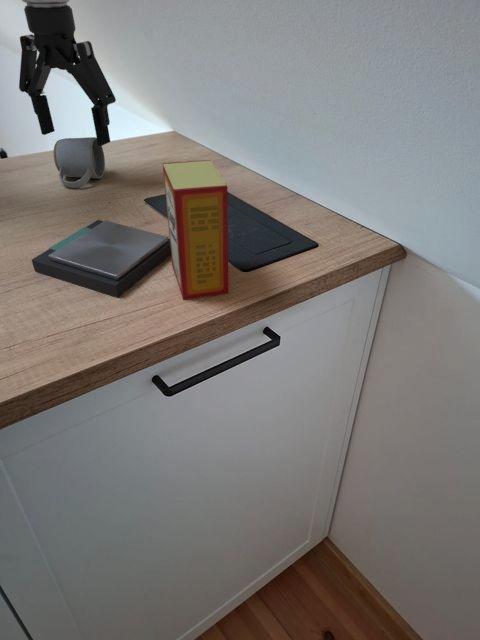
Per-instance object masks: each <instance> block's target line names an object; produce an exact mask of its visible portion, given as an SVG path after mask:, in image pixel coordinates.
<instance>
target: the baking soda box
mask: <svg viewBox="0 0 480 640" xmlns="http://www.w3.org/2000/svg"><path fill="white" fill-rule="evenodd" d="M162 171H163V180H164V181H163V182H164V183H163V184H164V193H165V194H164V195H165V203H166V214H167V224H168V238H169V239H170V247H171V255H170V256H171V257H170V258H171V266H172V269H173V272H174V275H175V276H174V277H175V279H176V281H177V285H178V288H179V292H180V294H181V297H182V300H190V299H197V298H198V299H199V298H204V297H212V296H220V295H226V294H229V209H228V208H229V205H228V204H229V203H228V202H229V200H228V196H229V195H228V192H229V191H228V185H227V183H226V182H225V180H224V178H223V177H222V175H221V174H220V172H219V171H218V169H217V168H216V166H215V165H214V163H213V161H212V160H211V159H201V160H189V161H188V160H187V161H175V162H174V161H173V162H162Z"/></svg>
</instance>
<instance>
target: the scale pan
mask: <svg viewBox="0 0 480 640" xmlns="http://www.w3.org/2000/svg"><path fill="white" fill-rule="evenodd" d="M103 221H104V222H102V223H100V224H99V225H97V226H96V227H94V228H92V229H91V230H89V231H87V232H86V233H84V234H82V235H81V236H79V237H77V238H76V239H74V240H73V241H71V242H69V243H68V244H66V245H64V246H63V247H61V248H59V249H58V250H56V251H55V252H53V253H51V254H50V255H48V256H49V259H50V260H52V261H55V262H58V263H62V264H65V265H68V266H71V267H75V268H78V269H81V270H85V271H88V272H91V273H94V274H98V275H101V276H104V277H108V278H111V279H114V280H118V279H120V278H121V277H122V276H124V275H125V274H126V273H127V272H129V271H130V270H131V269H133V268H134V267H135V266H137V265H138V264H139V263H141V262H142V261H143V260H144V259H146V258H147V257H148V256H150V255H151V254H152V253H154V252H155V251H156V250H157V249H159V248H160V247H161V246H163V245H164V244H165V243H167V242H168V238H169V236H167V235H163V234H159V233H155V232H151V231H147V230H144V229H140V228H136V227H132V226H129V225H126V224H122V223H121V224H120V223H117V222H113V221H109V220H103Z"/></svg>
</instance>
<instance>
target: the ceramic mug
mask: <svg viewBox="0 0 480 640" xmlns="http://www.w3.org/2000/svg"><path fill="white" fill-rule="evenodd" d="M53 161H54V164H55V167H56V170H57V171H58V177H59V180H60V182H61V183H62V185H63V186H64V187H66V188H69V189H79V188H81V187H83V186H85V185H86V184H88V183H89V181H90V179H94V180H95V179H96V180H97V179H98V180H99V179H102V178H103V176H104V174H105V170H106V160H105V153H104V148H103V145H102V146H99V145H98V142H97V137H96V136H93V137H92V136H91V137H66V138H61V139H58V140H56V142H55V144H54V146H53ZM64 177H68V178H80V179H77V180H75V181H67V180H65V179H64Z"/></svg>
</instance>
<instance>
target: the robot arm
mask: <svg viewBox="0 0 480 640" xmlns="http://www.w3.org/2000/svg"><path fill="white" fill-rule="evenodd" d="M21 1H22V2H23V3H25V4H26V5H25V6H24V8H23V11H24V15H25V20H26V23H27V28H28V30H29V32H30V33H31V34H25V35H20V36H19V42H20V48H21V55H20V67H19V68H20V69H19V71H20V72H19V80H18V88H19V91H20V92H21V93H26V94H27V95H28V97H29V98H30V100H31V104H32V108H33V112H34V114H35V115H36V117H37V120H38V121H37V122H38V124H39V128H40V132H41V135H44V136H46V135H48V134H52V133H54V132H55V127H54V122H53V118H52V114H51V109H50V106H49V102H48V97H47V95H46V94H45V92H44V89H45V86H46V84H47V81H48V78H49V77H50V74H51V71H52V70H53V69H58V70H61V71H66V72H67V73H68V74H69V75H71V76H72V77H73V78H74V80H75V81H76V82H77V84H78V86H79V87H80V88H81V90H82V91H83V92H84V93H85V95H86V96H87V98H88V99H89V100H90V102H91V103H92V104H93V106H92V107H90V109H91V115H92V121H93V125H94V131H95V137H96V138H97V142H98V145H99V146H102V147H103V146H105V145H106V144H109V143H111V136H110V131H109V126H110V123H111V121H110V116H109V109H108V106H109V105H112V104H114V103H116V102H117V101H116V100H117V99H116V96H115V94H114V92H113V91H112V88H111V86H110V85H109V82H108V80H107V78H106V76H105V74H104V72H103V70H102V68H101V66H100V64H99V63H98V61H97V58H96V56H95V53H94V49H93V43H92V42H91V41H90V40H86V41H82V42H77V41H76V38H75V32H76V24H75V18H74V13H73V8H72V7H71V5H69V4H68V3H69V2H70V1H71V0H21Z"/></svg>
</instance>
